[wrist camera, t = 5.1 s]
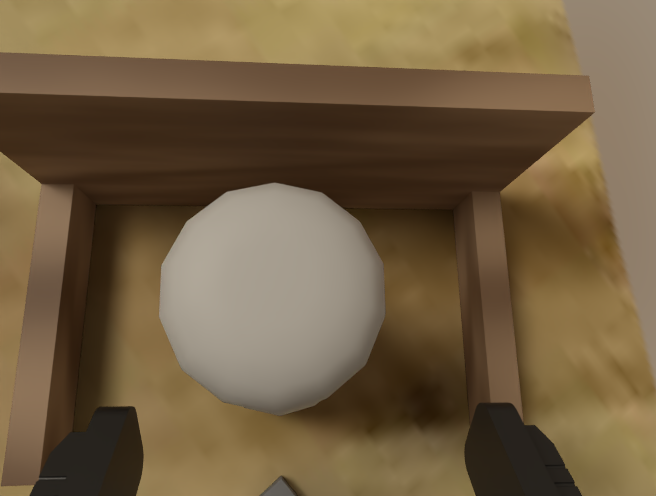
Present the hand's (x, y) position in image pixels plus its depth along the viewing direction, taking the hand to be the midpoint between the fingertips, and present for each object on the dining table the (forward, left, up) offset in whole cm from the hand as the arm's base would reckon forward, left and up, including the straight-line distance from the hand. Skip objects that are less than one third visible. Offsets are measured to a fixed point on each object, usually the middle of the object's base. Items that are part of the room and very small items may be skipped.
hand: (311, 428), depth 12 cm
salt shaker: (+1, +3, -9) cm, 10 cm away
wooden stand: (+2, +3, -9) cm, 10 cm away
